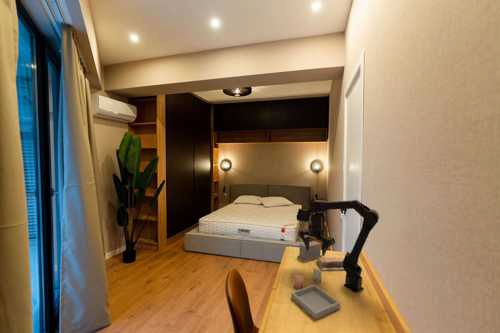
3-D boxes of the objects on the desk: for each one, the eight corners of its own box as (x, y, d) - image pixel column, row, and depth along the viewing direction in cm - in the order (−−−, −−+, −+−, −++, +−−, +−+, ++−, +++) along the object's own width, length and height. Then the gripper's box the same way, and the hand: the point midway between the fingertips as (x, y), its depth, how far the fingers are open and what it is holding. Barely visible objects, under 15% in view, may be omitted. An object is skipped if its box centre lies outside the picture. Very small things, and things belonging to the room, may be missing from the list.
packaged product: (323, 263, 116) (315, 255, 126) (322, 272, 116) (315, 263, 126) (353, 262, 118) (343, 254, 128) (353, 271, 118) (343, 262, 128)
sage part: (322, 281, 106) (323, 272, 106) (317, 283, 104) (317, 273, 104) (316, 277, 110) (317, 268, 109) (311, 279, 108) (311, 270, 107)
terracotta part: (304, 288, 100) (305, 277, 100) (298, 290, 98) (299, 279, 98) (299, 283, 104) (299, 273, 103) (292, 285, 102) (293, 275, 102)
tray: (339, 308, 87) (340, 302, 87) (315, 320, 80) (315, 313, 80) (314, 289, 99) (314, 284, 99) (291, 298, 92) (291, 292, 92)
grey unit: (321, 257, 133) (322, 243, 132) (304, 262, 125) (304, 247, 125) (314, 253, 138) (315, 240, 138) (297, 258, 131) (297, 243, 130)
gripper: (340, 225, 110) (339, 255, 111) (309, 217, 124) (308, 244, 125) (330, 229, 103) (328, 261, 103) (298, 220, 117) (297, 248, 117)
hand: (315, 253), depth 112 cm, fingers open, 9 cm apart
